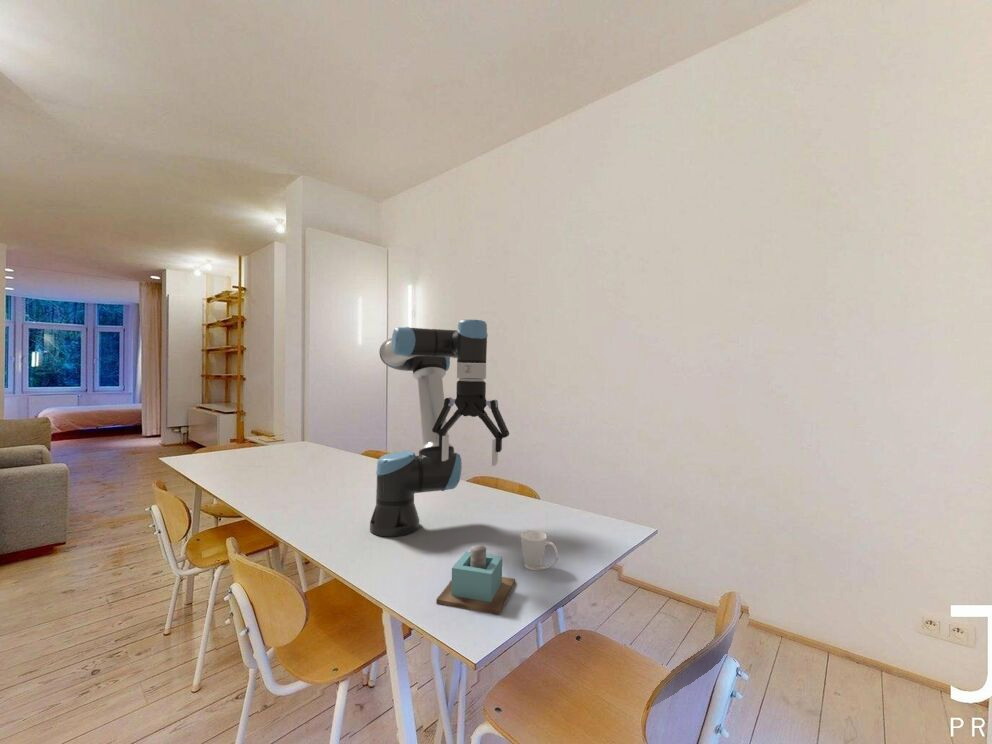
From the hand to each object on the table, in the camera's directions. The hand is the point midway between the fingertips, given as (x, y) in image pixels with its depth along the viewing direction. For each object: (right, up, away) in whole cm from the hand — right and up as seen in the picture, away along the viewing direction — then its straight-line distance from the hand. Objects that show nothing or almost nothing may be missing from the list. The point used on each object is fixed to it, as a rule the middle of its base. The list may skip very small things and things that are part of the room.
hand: (469, 462), depth 109 cm
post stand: (+3, -26, -14) cm, 30 cm away
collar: (+3, -25, -14) cm, 29 cm away
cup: (+18, -27, -2) cm, 32 cm away
